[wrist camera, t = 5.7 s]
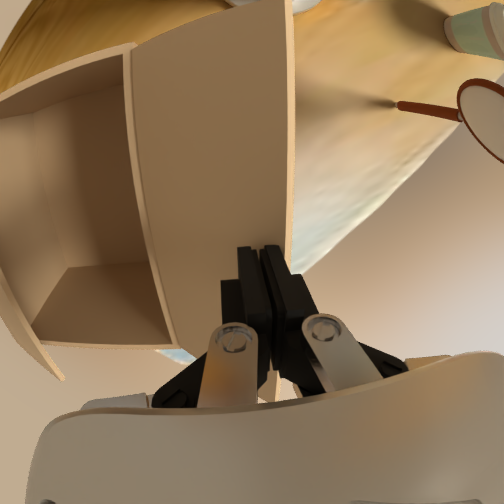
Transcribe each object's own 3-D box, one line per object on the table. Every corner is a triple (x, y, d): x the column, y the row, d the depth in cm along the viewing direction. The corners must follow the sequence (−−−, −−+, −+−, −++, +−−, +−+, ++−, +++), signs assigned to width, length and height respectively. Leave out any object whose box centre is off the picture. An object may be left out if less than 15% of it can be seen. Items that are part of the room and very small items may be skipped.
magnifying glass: (370, 82, 25) (521, 93, 7) (378, 73, 24) (527, 81, 7) (410, 135, 28) (543, 191, 11) (418, 127, 28) (550, 177, 10)
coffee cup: (466, 72, 23) (529, 81, 13) (429, 30, 20) (496, 24, 10) (478, 39, 20) (536, 42, 9) (444, -1, 17) (503, -10, 7)
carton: (31, 109, 21) (-52, 129, 9) (173, 70, 22) (133, 41, 10) (67, 269, 32) (22, 341, 20) (191, 259, 33) (181, 348, 21)
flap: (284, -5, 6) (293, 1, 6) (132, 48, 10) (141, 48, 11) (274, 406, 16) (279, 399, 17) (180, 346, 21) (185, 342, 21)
